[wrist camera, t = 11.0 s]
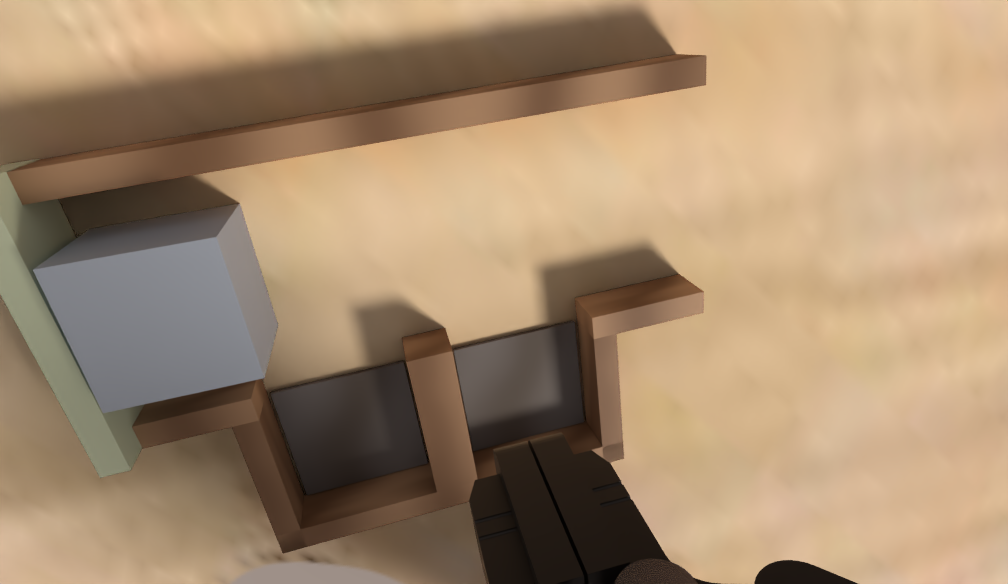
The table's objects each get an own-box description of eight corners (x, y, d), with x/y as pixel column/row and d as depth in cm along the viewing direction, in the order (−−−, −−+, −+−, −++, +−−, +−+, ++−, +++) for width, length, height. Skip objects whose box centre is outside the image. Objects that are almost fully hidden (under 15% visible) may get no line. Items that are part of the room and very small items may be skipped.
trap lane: (677, 54, 27) (706, 55, 25) (680, 411, 36) (702, 436, 34) (39, 159, 23) (6, 172, 21) (215, 537, 32) (205, 575, 29)
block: (240, 202, 26) (216, 236, 21) (278, 324, 28) (264, 378, 24) (90, 228, 25) (32, 270, 20) (144, 351, 27) (103, 413, 23)
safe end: (39, 158, 23) (-18, 180, 20) (158, 415, 28) (130, 470, 25) (5, 164, 23) (-59, 187, 19) (132, 421, 28) (100, 477, 25)
